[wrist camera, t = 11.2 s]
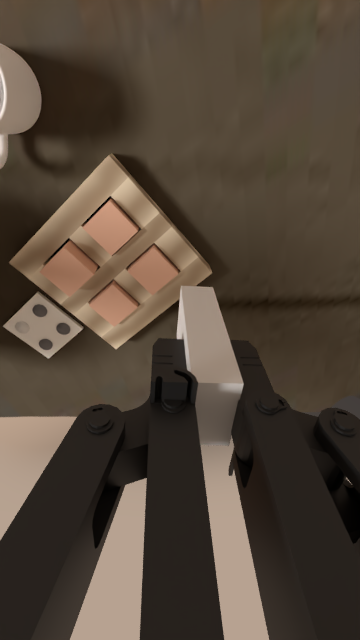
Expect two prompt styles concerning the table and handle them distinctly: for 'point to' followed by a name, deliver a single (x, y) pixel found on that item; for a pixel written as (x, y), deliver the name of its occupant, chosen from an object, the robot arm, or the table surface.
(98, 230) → the button
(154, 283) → the button
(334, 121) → the table surface
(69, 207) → the board
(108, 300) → the button
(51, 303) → the card
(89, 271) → the button
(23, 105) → the cup
